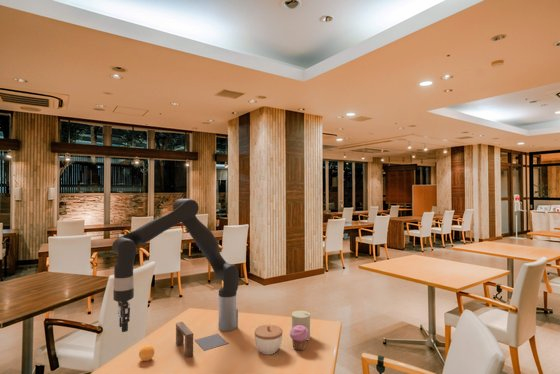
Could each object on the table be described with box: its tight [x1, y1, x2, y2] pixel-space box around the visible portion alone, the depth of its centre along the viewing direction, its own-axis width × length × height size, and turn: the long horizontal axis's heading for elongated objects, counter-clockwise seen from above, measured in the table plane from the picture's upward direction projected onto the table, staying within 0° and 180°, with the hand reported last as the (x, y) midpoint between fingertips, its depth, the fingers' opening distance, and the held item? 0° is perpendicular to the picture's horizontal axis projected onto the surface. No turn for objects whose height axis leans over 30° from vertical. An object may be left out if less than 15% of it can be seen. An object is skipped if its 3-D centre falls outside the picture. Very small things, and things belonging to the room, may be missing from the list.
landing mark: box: [194, 333, 229, 351], centre depth 154 cm, size 12×12×1 cm
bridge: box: [175, 321, 194, 359], centre depth 146 cm, size 3×15×10 cm, turn 35°
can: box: [291, 310, 311, 340], centre depth 159 cm, size 9×9×12 cm
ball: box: [138, 344, 155, 362], centre depth 137 cm, size 6×6×6 cm
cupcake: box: [289, 325, 309, 351], centre depth 148 cm, size 9×9×10 cm
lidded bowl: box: [254, 324, 284, 355], centre depth 146 cm, size 13×13×11 cm
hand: (123, 328), depth 132 cm, fingers open, 5 cm apart
